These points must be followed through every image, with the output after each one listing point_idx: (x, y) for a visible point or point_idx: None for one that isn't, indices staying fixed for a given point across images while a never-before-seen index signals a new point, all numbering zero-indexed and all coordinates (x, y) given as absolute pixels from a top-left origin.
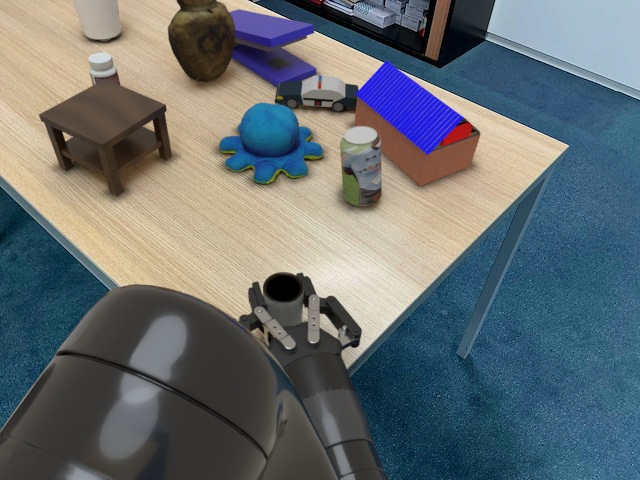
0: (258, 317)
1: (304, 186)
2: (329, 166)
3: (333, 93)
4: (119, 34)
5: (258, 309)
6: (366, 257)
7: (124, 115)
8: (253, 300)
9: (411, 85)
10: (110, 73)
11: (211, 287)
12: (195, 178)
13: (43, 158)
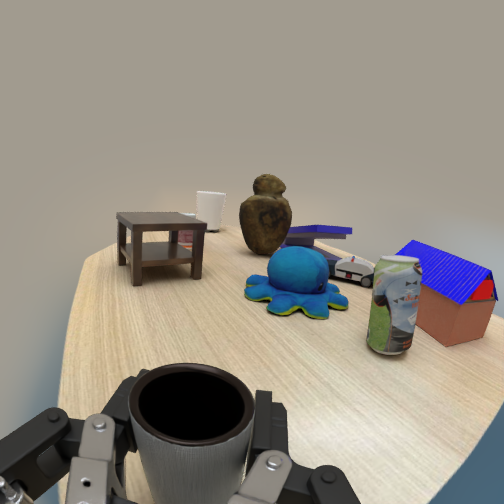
0: (82, 436)
1: (321, 327)
2: (353, 317)
3: (363, 267)
4: (217, 230)
5: (96, 419)
6: (389, 413)
7: (169, 220)
8: (116, 401)
9: (437, 252)
10: None
11: None
12: (209, 295)
13: (114, 257)
